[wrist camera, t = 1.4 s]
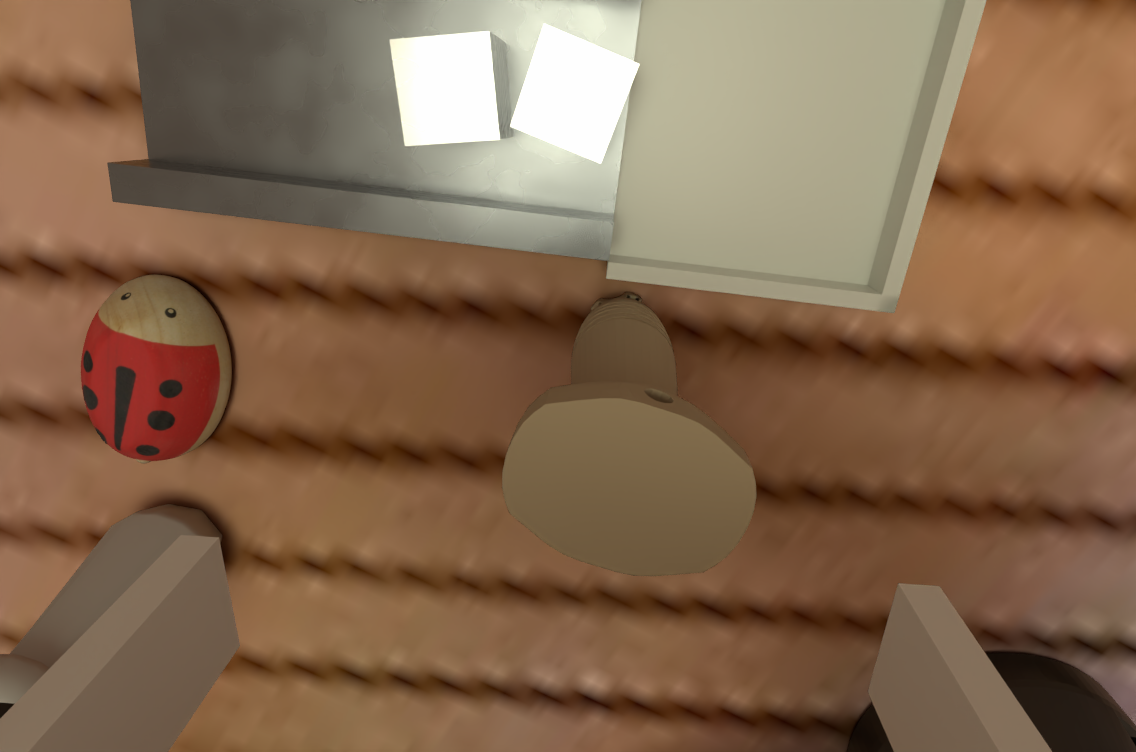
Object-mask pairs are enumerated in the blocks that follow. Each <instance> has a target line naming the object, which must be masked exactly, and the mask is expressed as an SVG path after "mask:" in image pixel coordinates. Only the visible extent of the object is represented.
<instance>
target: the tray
mask: <svg viewBox="0 0 1136 752" xmlns="http://www.w3.org/2000/svg"><path fill="white" fill-rule="evenodd" d="M985 3H986V0H642V2H641V10H640V18H639V25H638V33H637V41H636V48H635V56H634V62H636V63H638V64H639V66H638V69H637V72H636V74H635V77H634V79H633V82H632V85H631V87H630V95H629V102H628V110H627V118H626V126H625V133H624V141H623V149H622V156H621V164H620V172H619V180H618V187H617V195H616V203H615V211H614V227H613V234H612V242H611V250H610V257H609V261H608V262H607V272H606V279H614V280H623V281H631V282H639V283H648V284H656V285H664V286H673V287H681V288H689V289H698V290H706V291H714V292H723V293H731V294H739V295H748V296H756V297H764V298H773V299H781V300H789V301H798V302H806V303H814V304H823V305H831V306H839V307H848V308H856V309H864V310H873V311H881V312H889V313H894V312H895V309H896V306H897V302H898V299H899V295H900V292H901V289H902V285H903V282H904V278H905V275H906V272H907V268H908V265H909V261H910V258H911V255H912V251H913V248H914V244H915V241H916V238H917V234H918V231H919V228H920V224H921V221H922V217H923V214H924V211H925V207H926V204H927V200H928V197H929V194H930V190H931V187H932V183H933V180H934V177H935V173H936V170H937V166H938V163H939V160H940V156H941V153H942V149H943V146H944V143H945V139H946V136H947V132H948V129H949V126H950V122H951V119H952V115H953V112H954V109H955V105H956V102H957V98H958V95H959V92H960V88H961V85H962V82H963V78H964V75H965V71H966V68H967V65H968V61H969V58H970V54H971V51H972V48H973V44H974V41H975V37H976V34H977V31H978V27H979V24H980V20H981V17H982V14H983V10H984V7H985Z"/></svg>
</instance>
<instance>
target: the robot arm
mask: <svg viewBox="0 0 1136 752" xmlns="http://www.w3.org/2000/svg"><path fill="white" fill-rule="evenodd" d="M239 646H240V644H239V639H238V633H237V628H236V623H235V618H234V613H233V608H232V602H231V597H230V592H229V587H228V582H227V576H226V571H225V566H224V561H223V556H222V550H221V545H220V540H219V537H204V536H189V535H180V536H179V537H178V538H177V539H176V540H175V541H174V542H173V544H172V545H171V546H170V547H169V548H168V549H167V550H166V551H165V552H164V553H163V554H162V555H161V556H160V557H159V558H158V559H157V560H156V561H155V562H154V563H153V564H152V565H151V566H150V567H149V568H148V569H147V570H146V571H145V572H144V573H143V574H142V575H141V576H140V577H139V578H138V579H137V580H136V581H135V582H134V583H133V584H132V585H131V586H130V587H129V588H128V589H127V590H126V591H125V592H124V593H123V594H122V595H121V596H120V597H119V598H118V599H117V600H116V601H115V602H114V604H113V605H112V606H111V607H110V608H109V609H108V610H107V611H106V612H105V613H104V614H103V615H102V616H101V617H100V618H99V619H98V620H97V621H96V622H95V623H94V624H93V625H92V626H91V627H90V628H89V629H88V630H87V631H86V632H85V633H84V634H83V635H82V636H81V637H80V638H79V639H78V640H77V641H76V642H75V643H74V644H73V645H72V646H71V647H70V648H69V649H68V650H67V651H66V652H65V653H64V654H63V655H62V656H61V657H60V658H59V659H58V660H57V661H56V662H55V663H54V665H53V666H52V667H51V668H50V669H49V670H48V671H47V672H46V673H45V674H44V675H43V676H42V677H41V678H40V679H39V680H38V681H37V682H36V683H35V684H34V685H33V686H32V687H31V688H30V689H29V690H28V691H27V692H26V693H25V694H24V695H23V696H22V697H21V698H20V699H19V700H18V701H17V702H16V703H15V704H13V703H0V752H168V751H169V750H170V748H171V747H172V745H173V744H174V742H175V741H176V739H177V738H178V736H179V735H180V733H181V732H182V730H183V729H184V728H185V726H186V725H187V723H188V722H189V720H190V719H191V717H192V716H193V714H194V713H195V711H196V710H197V708H198V707H199V705H200V704H201V702H202V701H203V699H204V698H205V696H206V695H207V693H208V692H209V691H210V689H211V688H212V686H213V685H214V683H215V682H216V680H217V679H218V677H219V676H220V674H221V673H222V671H223V670H224V668H225V667H226V665H227V664H228V662H229V661H230V659H231V658H232V656H233V655H234V654H235V652H236V651H237V649H238V648H239ZM868 694H869V696H870V698H871V700H872V703H873V704H872V706H871V707H870V708H869V709H868V710H867V711H866V713H865V714H864V715H863V717H862V718H861V719H860V721H859V723H858V724H857V726H856V728H855V730H854V732H853V734H852V737H851V739H850V743H849V746H848V751H847V752H1136V725H1135V724H1134V723H1133V721H1132V720H1131V719H1130V718H1129V717H1128V716H1127V714H1126V713H1125V712H1124V711H1123V710H1122V709H1121V707H1120V706H1119V705H1118V704H1117V703H1116V702H1115V700H1114V699H1113V698H1112V697H1111V696H1110V695H1109V693H1108V692H1107V691H1106V690H1105V689H1104V688H1103V687H1102V686H1101V685H1100V684H1099V683H1098V682H1096V681H1095V680H1094V679H1093V678H1091V677H1090V676H1088V675H1087V674H1085V673H1083V672H1081V671H1080V670H1078V669H1076V668H1074V667H1071V666H1069V665H1067V664H1064V663H1061V662H1059V661H1055V660H1052V659H1048V658H1044V657H1039V656H1033V655H1027V654H1014V653H994V654H985V652H984V651H983V649H982V648H981V646H980V645H979V643H978V642H977V640H976V639H975V638H974V636H973V635H972V633H971V632H970V630H969V629H968V627H967V626H966V624H965V623H964V621H963V620H962V618H961V617H960V616H959V614H958V613H957V611H956V610H955V608H954V607H953V605H952V604H951V602H950V601H949V599H948V598H947V596H946V595H945V594H944V592H943V591H942V589H941V588H940V586H931V585H916V584H901V583H898V586H897V589H896V593H895V596H894V600H893V603H892V607H891V611H890V614H889V618H888V621H887V625H886V628H885V632H884V635H883V639H882V642H881V646H880V650H879V653H878V657H877V660H876V664H875V667H874V671H873V674H872V678H871V682H870V685H869V689H868Z"/></svg>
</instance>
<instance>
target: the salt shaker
mask: <svg viewBox="0 0 1136 752" xmlns="http://www.w3.org/2000/svg"><path fill="white" fill-rule="evenodd" d="M180 535H189V536H204V537H219V540H220V543H221V539H222V534H221V533H220V532H219V531H218V529H217V528H216V527H215V526H214V525H213V523H212V522H211V521H210V520H209V519H208V517H207V516H206V515H205V514H204V513H203V511H202V510H199V509H194V508H188V507H183V506H177V505H172V504H166V505H162V506H157V507H153V508H149V509H145V510H141V511H138V512H136V513H134V514H132V515H130V516H128V517H127V518H125V519H123V520H121V521H119V522H118V523H116V524H114V525H112V526H111V527H110V529H109V530H108V531H107V533H106V534H105V535H104V536H103V538H102V539H101V540H100V541H99V543H98V544H97V545H96V546H95V548H94V549H93V550H92V552H91V553H90V554H89V555H88V557H87V558H86V559H85V560H84V562H83V563H82V564H81V566H80V567H79V568H78V569H77V571H76V572H75V573H74V574H73V576H72V577H71V578H70V580H69V581H68V582H67V583H66V585H65V586H64V587H63V588H62V590H61V591H60V592H59V593H58V595H57V596H56V597H55V599H54V600H53V601H52V602H51V604H50V605H49V606H48V607H47V609H46V610H45V611H44V613H43V614H42V615H41V616H40V618H39V619H38V620H37V621H36V623H35V624H34V625H33V627H32V628H31V629H30V630H29V632H28V633H27V634H26V635H25V636H24V638H23V639H22V640H21V641H20V642H19V644H18V645H17V646H16V647H15V648H14V650H13V651H12V652H11V653H10V654H0V703H13V704H15V703H16V702H17V701H18V700H19V699H20V698H21V697H22V696H23V695H24V694H25V693H26V692H27V691H28V690H29V689H30V688H31V687H32V686H33V685H34V684H35V683H36V682H37V681H38V680H39V679H40V678H41V677H42V676H43V675H44V674H45V673H46V672H47V671H48V670H49V669H50V668H51V667H52V666H53V665H54V663H55V662H56V661H57V660H58V659H59V658H60V657H61V656H62V655H63V654H64V653H65V652H66V651H67V650H68V649H69V648H70V647H71V646H72V645H73V644H74V643H75V642H76V641H77V640H78V639H79V638H80V637H81V636H82V635H83V634H84V633H85V632H86V631H87V630H88V629H89V628H90V627H91V626H92V625H93V624H94V623H95V622H96V621H97V620H98V619H99V618H100V617H101V616H102V615H103V614H104V613H105V612H106V611H107V610H108V609H109V608H110V607H111V606H112V605H113V604H114V602H115V601H116V600H117V599H118V598H119V597H120V596H121V595H122V594H123V593H124V592H125V591H126V590H127V589H128V588H129V587H130V586H131V585H132V584H133V583H134V582H135V581H136V580H137V579H138V578H139V577H140V576H141V575H142V574H143V573H144V572H145V571H146V570H147V569H148V568H149V567H150V566H151V565H152V564H153V563H154V562H155V561H156V560H157V559H158V558H159V557H160V556H161V555H162V554H163V553H164V552H165V551H166V550H167V549H168V548H169V547H170V546H171V545H172V544H173V542H174V541H175V540H176V539H177V538H178V537H179V536H180Z"/></svg>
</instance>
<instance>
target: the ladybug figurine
mask: <svg viewBox="0 0 1136 752" xmlns="http://www.w3.org/2000/svg"><path fill="white" fill-rule="evenodd" d="M231 378H232V364H231V354H230V348H229V343H228V340H227V336H226V333H225V330H224V328H223V326H222V323H221V321H220V319H219V317H218V315H217V314H216V312H215V311H214V309H213V308H212V306H211V305H210V304H209V302H208V301H207V300H206V299H205V298H204V297H203V295H202V294H201V293H200V292H198V291H197V290H196V289H195V288H194V287H192V286H191V285H189V284H188V283H186V282H184V281H182V280H180V279H177V278H174V277H170V276H165V275H146V276H142V277H139V278H136V279H133V280H131V281H129V282H127V283H125V284H123V285H122V286H121V287H119V288H118V289H117V290H116V291H115V292H113V293H112V294H111V295H110V296H109V298H108V299H107V300H106V301H105V302H104V303H103V305H102V306H101V307H100V309H99V310H98V312H97V313H96V315H95V317H94V318H93V320H92V322H91V325H90V327H89V330H88V332H87V336H86V339H85V343H84V348H83V353H82V360H81V381H82V390H83V396H84V400H85V404H86V408H87V411H88V414H89V417H90V419H91V421H92V423H93V425H94V427H95V429H96V431H97V433H98V434H99V435H100V437H101V439H102V440H103V441H105V443H106V444H108V445H109V446H110V447H112V448H113V449H114V450H116V451H117V452H119V453H121V454H123V455H125V456H127V457H130V458H134V459H136V460H137V461H138V462H140V463H148V462H150V461H158V460H166V459H171V458H175V457H178V456H181V455H184V454H186V453H188V452H190V451H192V450H194V449H195V448H197V447H198V446H200V445H201V444H202V443H203V442H204V441H206V440H207V439H208V437H209V436H210V435H211V434H212V433H213V431H214V430H215V428H216V427H217V425H218V424H219V422H220V420H221V418H222V415H223V413H224V410H225V408H226V405H227V402H228V398H229V393H230V387H231Z"/></svg>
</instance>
